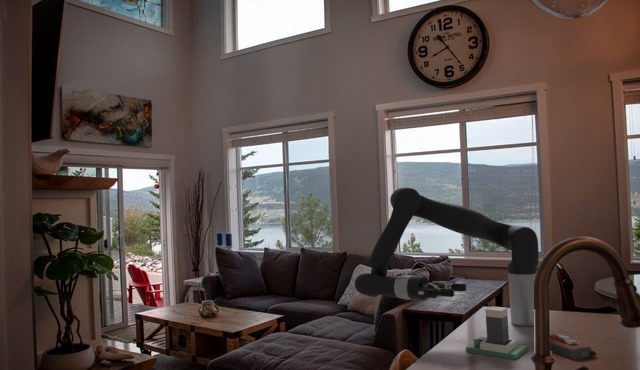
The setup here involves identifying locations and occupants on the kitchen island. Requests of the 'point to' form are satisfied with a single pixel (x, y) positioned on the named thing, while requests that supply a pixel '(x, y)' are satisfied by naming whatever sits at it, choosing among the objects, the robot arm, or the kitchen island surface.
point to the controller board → (497, 348)
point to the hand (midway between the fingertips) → (459, 290)
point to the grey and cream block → (497, 325)
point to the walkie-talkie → (569, 347)
